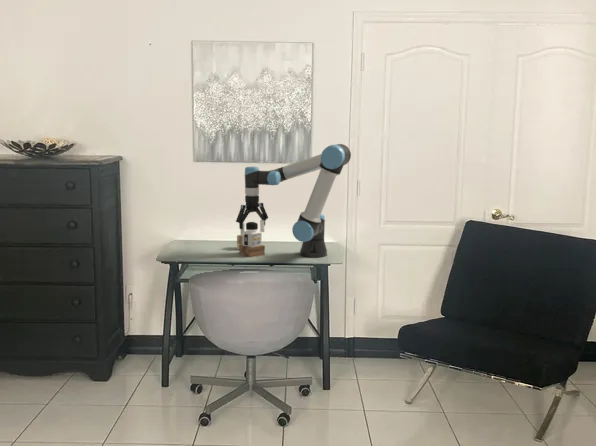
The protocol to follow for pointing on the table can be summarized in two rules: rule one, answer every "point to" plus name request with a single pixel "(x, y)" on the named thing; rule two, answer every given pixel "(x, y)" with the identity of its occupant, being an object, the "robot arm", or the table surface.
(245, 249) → the walnut block
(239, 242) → the maple block
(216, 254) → the table surface
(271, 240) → the table surface
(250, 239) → the container
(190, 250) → the table surface
